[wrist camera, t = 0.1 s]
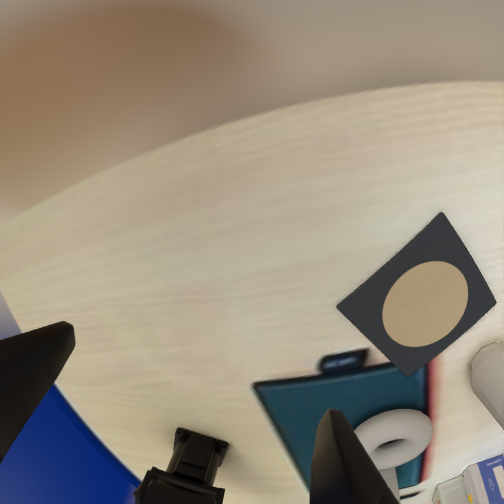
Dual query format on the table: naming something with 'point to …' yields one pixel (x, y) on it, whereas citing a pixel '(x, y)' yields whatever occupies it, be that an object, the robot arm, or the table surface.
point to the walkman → (485, 481)
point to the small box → (451, 492)
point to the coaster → (421, 298)
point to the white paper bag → (391, 480)
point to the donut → (395, 436)
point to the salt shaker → (490, 379)
